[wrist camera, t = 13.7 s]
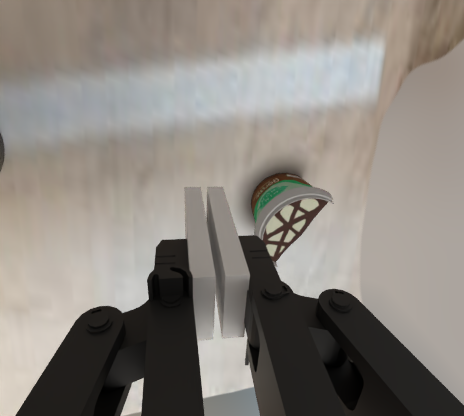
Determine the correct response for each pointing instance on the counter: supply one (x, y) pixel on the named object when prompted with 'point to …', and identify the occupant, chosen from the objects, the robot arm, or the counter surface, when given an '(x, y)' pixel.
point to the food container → (285, 210)
